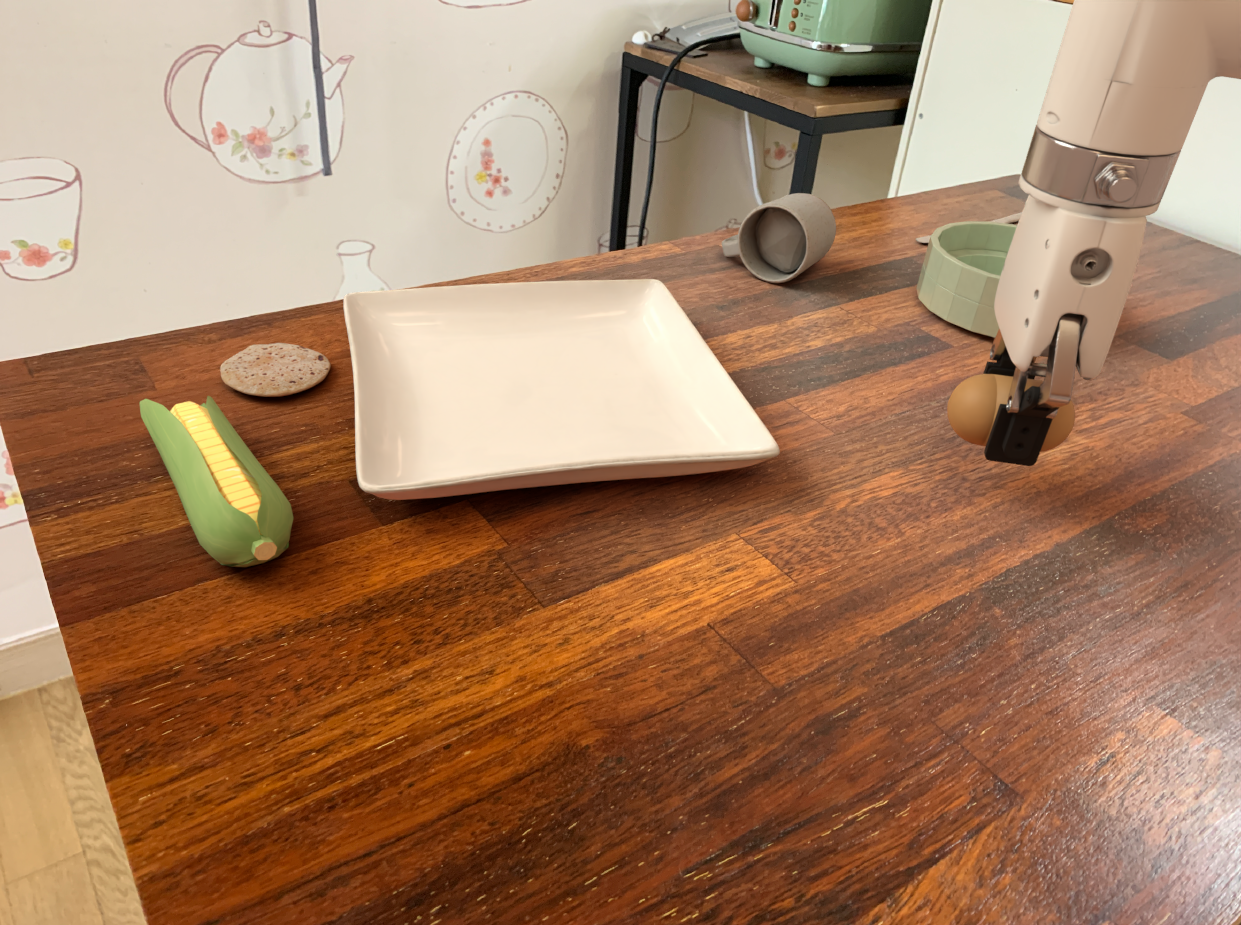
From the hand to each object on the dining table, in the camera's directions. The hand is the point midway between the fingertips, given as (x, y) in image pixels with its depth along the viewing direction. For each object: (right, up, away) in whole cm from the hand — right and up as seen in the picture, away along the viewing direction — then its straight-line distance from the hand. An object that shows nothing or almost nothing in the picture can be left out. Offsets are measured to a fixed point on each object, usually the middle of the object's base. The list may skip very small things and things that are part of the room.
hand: (1002, 435), depth 63 cm
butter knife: (+18, +26, +46) cm, 56 cm away
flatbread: (-52, +5, +7) cm, 53 cm away
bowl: (+10, +13, +27) cm, 32 cm away
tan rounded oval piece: (0, 0, 0) cm, 1 cm away
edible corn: (-51, -4, -4) cm, 51 cm away
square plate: (-32, +3, +7) cm, 33 cm away
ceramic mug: (-11, +18, +32) cm, 38 cm away
